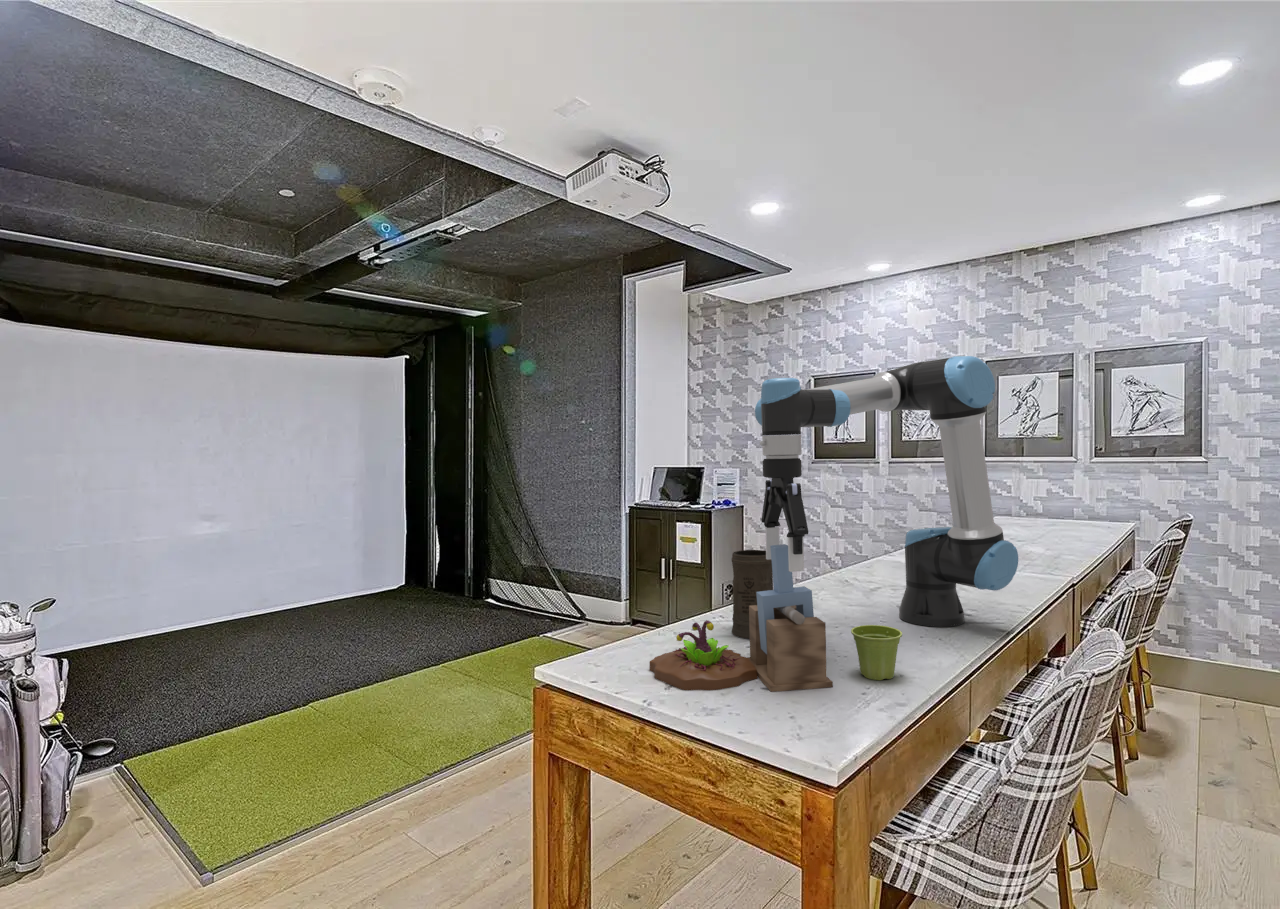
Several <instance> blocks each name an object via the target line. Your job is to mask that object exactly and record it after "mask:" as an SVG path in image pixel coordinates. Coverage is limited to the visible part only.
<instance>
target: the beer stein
mask: <svg viewBox="0 0 1280 909" xmlns="http://www.w3.org/2000/svg"><path fill="white" fill-rule="evenodd" d="M731 563H732V564H731V565H732V571H733V572H732V573H733V574H732V575H733V579H732V619H731V620H732V627H731V633H732V635H734V636H735V637H737V638H741V639H746V640H750V632H749V606H752V605H757V595H756V592H760V591H768V590H774V585H773V572H772V560H771V559H768V560H767V559H766V550H764V549H763V550H762V549H744V550H741V549H740V550H737V551H733V552H732V554H731Z"/></svg>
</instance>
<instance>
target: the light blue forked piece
mask: <svg viewBox="0 0 1280 909" xmlns="http://www.w3.org/2000/svg"><path fill="white" fill-rule="evenodd" d="M770 547H771V560H772V573H773V590H768V591H760V592H756V595H757V607H758V619H759V632H760V644H761V649H762V650H763V651H764V652H765V653H766V654H767V634H766V620H772V619H774V609H773V608H777V607H785V606H794V605H796V610H797V611H798V612H799V613H801V614H802V615H804V617H815V615H814V614H815V613H814V602H813V590H811V589H810V588H808V587H807V586H805V585H803V586H802V585H801V586H796V587H795V586H794V578H793V572H789V561H788V544H786V543H782V544H780V545H772V546H770Z"/></svg>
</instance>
